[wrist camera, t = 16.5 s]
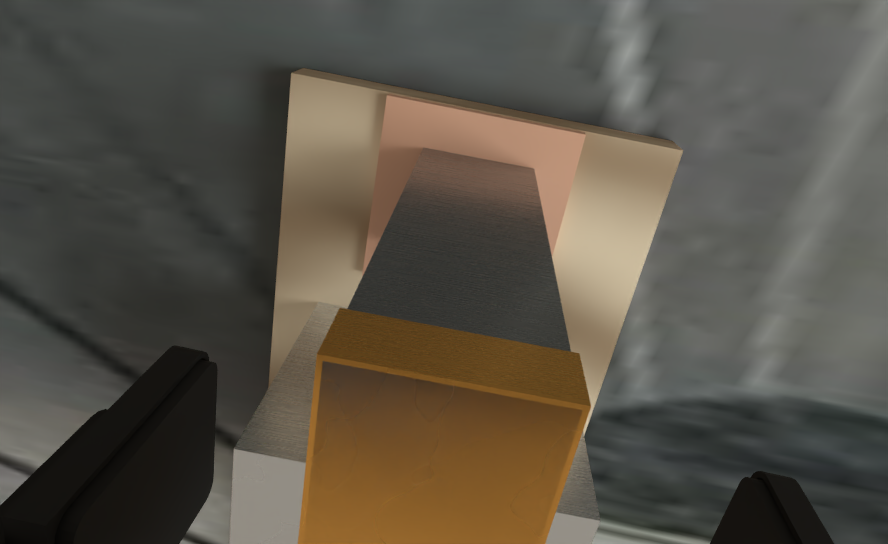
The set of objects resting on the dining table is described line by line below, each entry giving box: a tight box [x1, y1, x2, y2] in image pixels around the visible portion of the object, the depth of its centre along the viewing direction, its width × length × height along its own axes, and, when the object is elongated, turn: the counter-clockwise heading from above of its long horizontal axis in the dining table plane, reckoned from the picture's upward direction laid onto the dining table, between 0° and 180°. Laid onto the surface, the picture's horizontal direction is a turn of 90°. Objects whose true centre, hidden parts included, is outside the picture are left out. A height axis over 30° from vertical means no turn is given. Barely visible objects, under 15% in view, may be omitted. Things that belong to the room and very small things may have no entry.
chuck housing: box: [229, 302, 600, 544], centre depth 24 cm, size 10×10×9 cm
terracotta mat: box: [362, 94, 586, 276], centre depth 23 cm, size 7×7×1 cm
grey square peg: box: [298, 147, 591, 544], centre depth 17 cm, size 4×4×14 cm
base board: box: [268, 68, 683, 435], centre depth 28 cm, size 28×14×2 cm, turn 170°
